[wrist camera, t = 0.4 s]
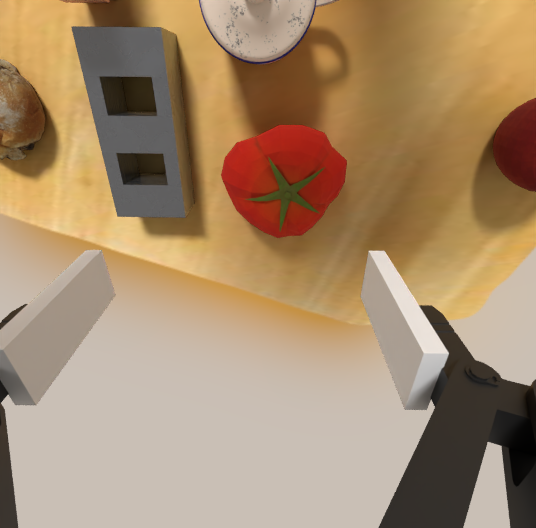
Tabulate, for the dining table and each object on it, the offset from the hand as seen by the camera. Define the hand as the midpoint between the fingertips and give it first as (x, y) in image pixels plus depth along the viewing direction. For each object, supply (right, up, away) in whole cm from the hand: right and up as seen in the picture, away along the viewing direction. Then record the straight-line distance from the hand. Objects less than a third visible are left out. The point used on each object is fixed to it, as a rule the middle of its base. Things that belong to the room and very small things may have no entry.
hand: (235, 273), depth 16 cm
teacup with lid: (+2, +26, +16) cm, 30 cm away
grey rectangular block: (-12, +16, +21) cm, 29 cm away
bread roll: (-29, +18, +21) cm, 40 cm away
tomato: (+4, +12, +24) cm, 27 cm away
